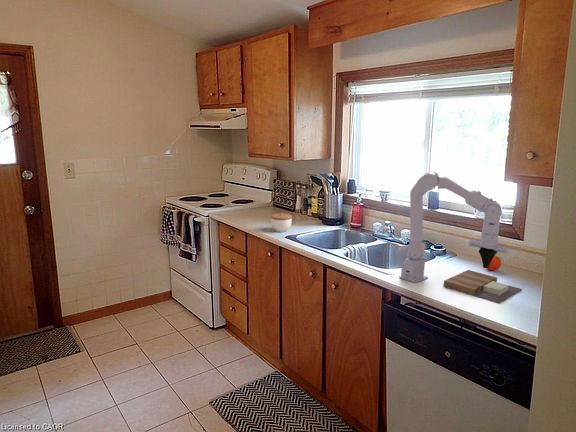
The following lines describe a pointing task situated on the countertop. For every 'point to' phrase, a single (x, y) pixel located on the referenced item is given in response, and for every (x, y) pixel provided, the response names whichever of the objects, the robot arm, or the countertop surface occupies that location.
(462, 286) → the board
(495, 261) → the clementine
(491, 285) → the tile
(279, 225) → the lidded bowl
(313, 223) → the countertop surface
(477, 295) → the mat
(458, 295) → the countertop surface
